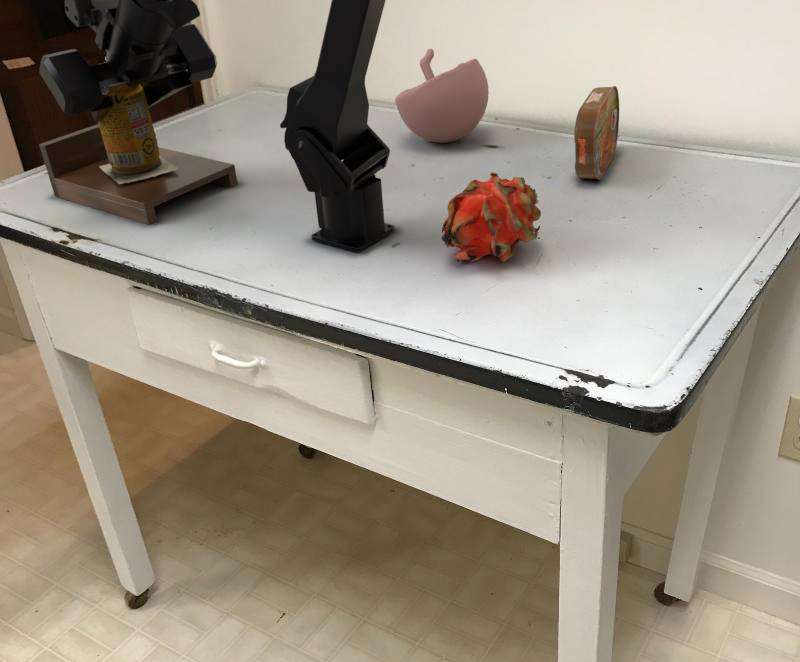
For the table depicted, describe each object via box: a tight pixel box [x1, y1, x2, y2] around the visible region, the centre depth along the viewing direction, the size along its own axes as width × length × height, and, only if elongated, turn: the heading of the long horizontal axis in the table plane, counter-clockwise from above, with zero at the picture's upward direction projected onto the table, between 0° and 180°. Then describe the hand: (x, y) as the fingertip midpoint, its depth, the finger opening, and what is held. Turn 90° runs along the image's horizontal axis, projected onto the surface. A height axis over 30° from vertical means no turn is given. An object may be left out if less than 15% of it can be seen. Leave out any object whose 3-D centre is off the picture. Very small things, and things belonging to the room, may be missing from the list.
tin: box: [573, 85, 620, 181], centre depth 100 cm, size 15×3×8 cm, turn 158°
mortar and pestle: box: [394, 48, 490, 144], centre depth 111 cm, size 12×12×12 cm
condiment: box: [97, 61, 178, 184], centre depth 100 cm, size 7×8×12 cm
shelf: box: [39, 123, 239, 225], centre depth 103 cm, size 18×14×6 cm
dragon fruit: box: [441, 171, 542, 263], centre depth 83 cm, size 8×8×12 cm
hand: (120, 112), depth 101 cm, fingers closed on condiment, 6 cm apart
